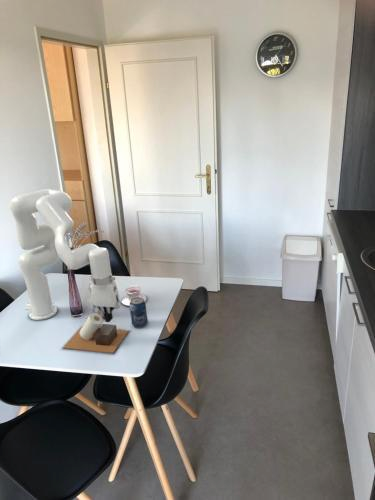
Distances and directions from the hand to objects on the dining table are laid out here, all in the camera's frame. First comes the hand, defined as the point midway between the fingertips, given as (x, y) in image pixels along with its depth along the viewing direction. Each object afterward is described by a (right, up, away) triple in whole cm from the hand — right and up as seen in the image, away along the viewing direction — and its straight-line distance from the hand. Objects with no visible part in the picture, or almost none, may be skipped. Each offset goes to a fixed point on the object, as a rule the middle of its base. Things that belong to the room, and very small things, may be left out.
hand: (108, 320), depth 169 cm
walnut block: (-1, -9, +4) cm, 10 cm away
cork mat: (-6, -9, +5) cm, 12 cm away
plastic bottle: (-8, -2, +24) cm, 26 cm away
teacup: (+6, +3, +36) cm, 37 cm away
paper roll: (-8, -3, +3) cm, 9 cm away
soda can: (+11, -4, +14) cm, 19 cm away
